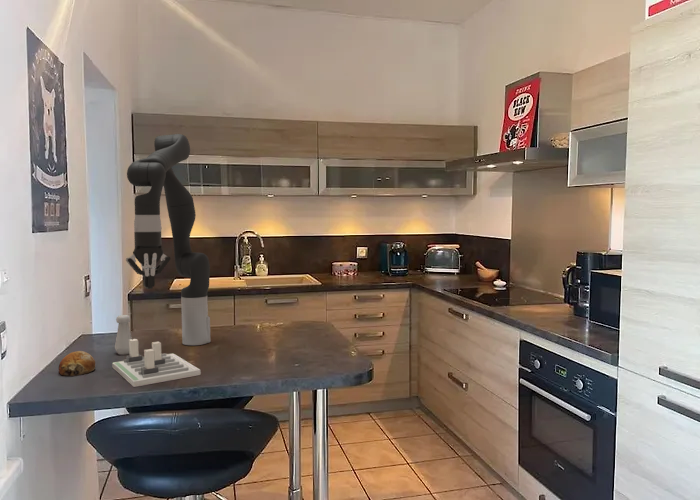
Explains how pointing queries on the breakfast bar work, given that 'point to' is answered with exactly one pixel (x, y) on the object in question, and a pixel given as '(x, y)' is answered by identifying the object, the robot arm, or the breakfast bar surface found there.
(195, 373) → the panel
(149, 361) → the breaker
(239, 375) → the breakfast bar surface
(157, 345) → the breaker
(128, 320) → the salt shaker
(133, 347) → the breaker
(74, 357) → the bread roll
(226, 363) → the breakfast bar surface
